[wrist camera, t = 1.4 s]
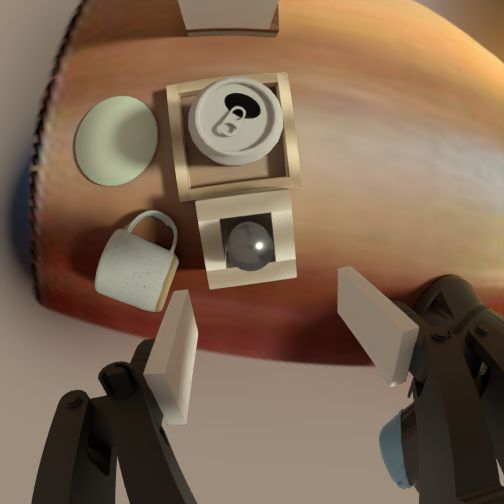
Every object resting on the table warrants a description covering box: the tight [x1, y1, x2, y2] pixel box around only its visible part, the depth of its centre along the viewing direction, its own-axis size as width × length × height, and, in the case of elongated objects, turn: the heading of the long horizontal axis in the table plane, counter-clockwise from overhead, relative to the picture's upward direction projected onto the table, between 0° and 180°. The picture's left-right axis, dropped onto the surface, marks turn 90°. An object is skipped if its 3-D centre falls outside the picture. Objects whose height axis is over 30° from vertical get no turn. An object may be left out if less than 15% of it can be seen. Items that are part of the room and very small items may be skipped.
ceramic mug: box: [95, 210, 179, 312], centre depth 29 cm, size 11×8×8 cm
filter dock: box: [166, 73, 301, 289], centre depth 28 cm, size 22×13×6 cm, turn 7°
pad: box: [75, 96, 159, 186], centre depth 28 cm, size 11×11×1 cm
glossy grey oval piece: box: [228, 217, 274, 271], centre depth 27 cm, size 4×4×5 cm
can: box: [188, 77, 283, 166], centre depth 24 cm, size 8×8×12 cm
